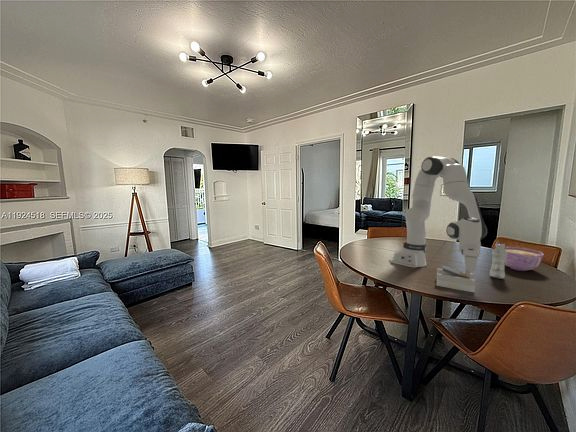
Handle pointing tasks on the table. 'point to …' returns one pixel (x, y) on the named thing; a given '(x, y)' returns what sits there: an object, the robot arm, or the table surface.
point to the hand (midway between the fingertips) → (467, 275)
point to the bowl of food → (522, 258)
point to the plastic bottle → (498, 261)
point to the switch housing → (455, 281)
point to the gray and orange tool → (454, 272)
